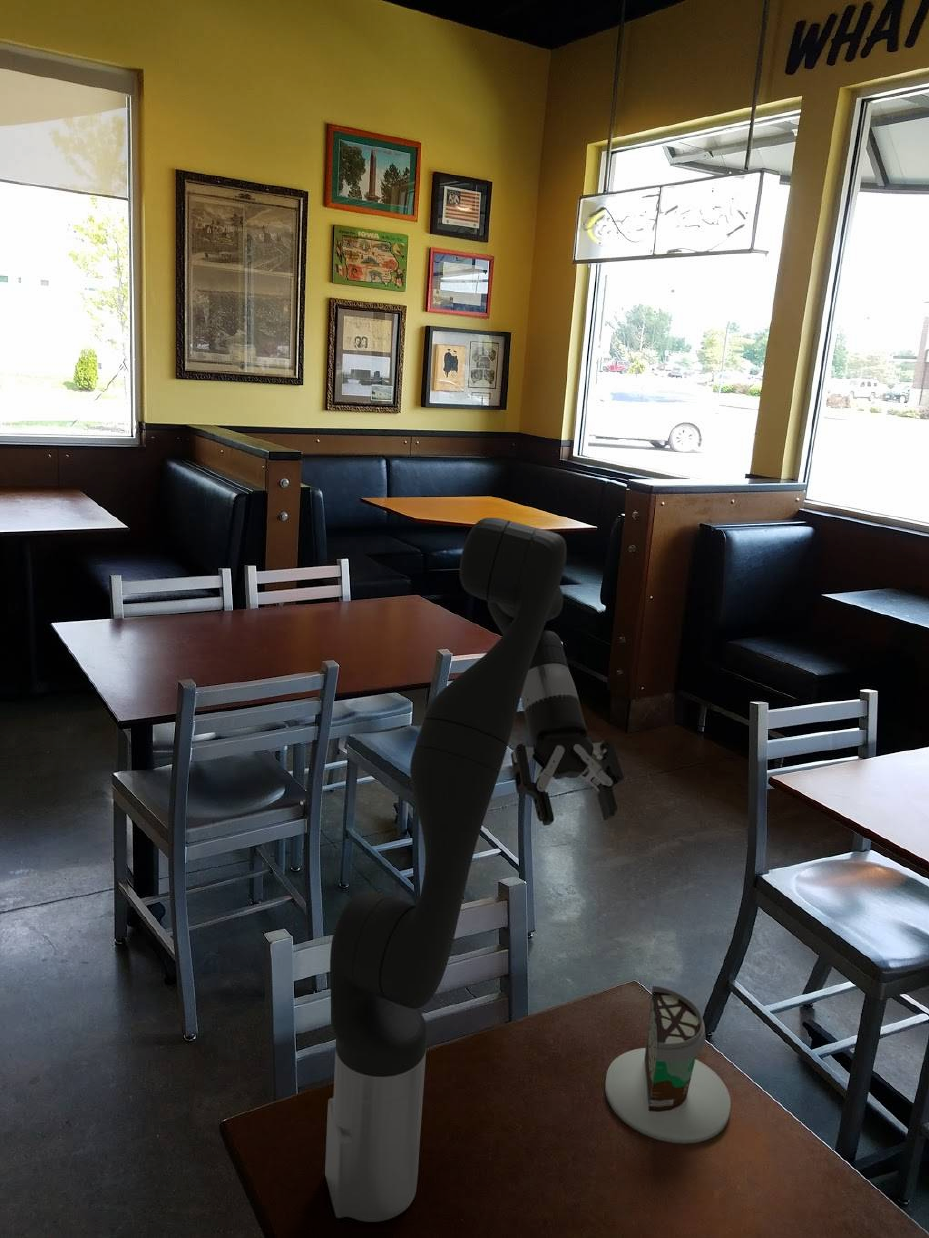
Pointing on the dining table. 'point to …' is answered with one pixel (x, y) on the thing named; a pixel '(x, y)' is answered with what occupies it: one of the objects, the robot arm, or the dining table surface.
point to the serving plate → (679, 1125)
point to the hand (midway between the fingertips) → (580, 820)
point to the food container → (671, 1048)
